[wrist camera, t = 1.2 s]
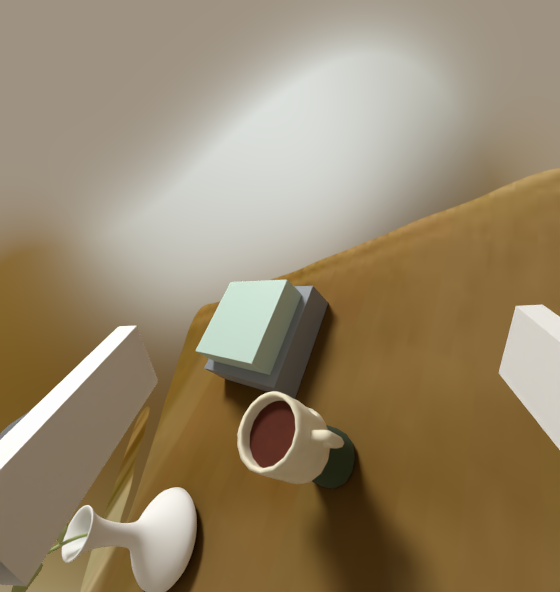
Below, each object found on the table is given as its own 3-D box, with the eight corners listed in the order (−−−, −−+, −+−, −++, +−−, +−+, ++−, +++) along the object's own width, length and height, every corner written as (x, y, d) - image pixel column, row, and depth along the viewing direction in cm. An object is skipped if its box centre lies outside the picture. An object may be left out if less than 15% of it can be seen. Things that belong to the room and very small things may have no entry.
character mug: (376, 425, 35) (321, 386, 27) (380, 499, 31) (316, 480, 23) (296, 426, 41) (231, 394, 33) (290, 488, 37) (214, 470, 29)
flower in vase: (183, 471, 48) (1, 431, 32) (217, 529, 39) (-8, 513, 24) (130, 554, 45) (-96, 554, 30) (155, 635, 37) (-146, 696, 21)
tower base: (259, 301, 60) (228, 275, 54) (328, 303, 49) (298, 270, 44) (224, 378, 54) (185, 358, 48) (294, 400, 43) (255, 376, 37)
